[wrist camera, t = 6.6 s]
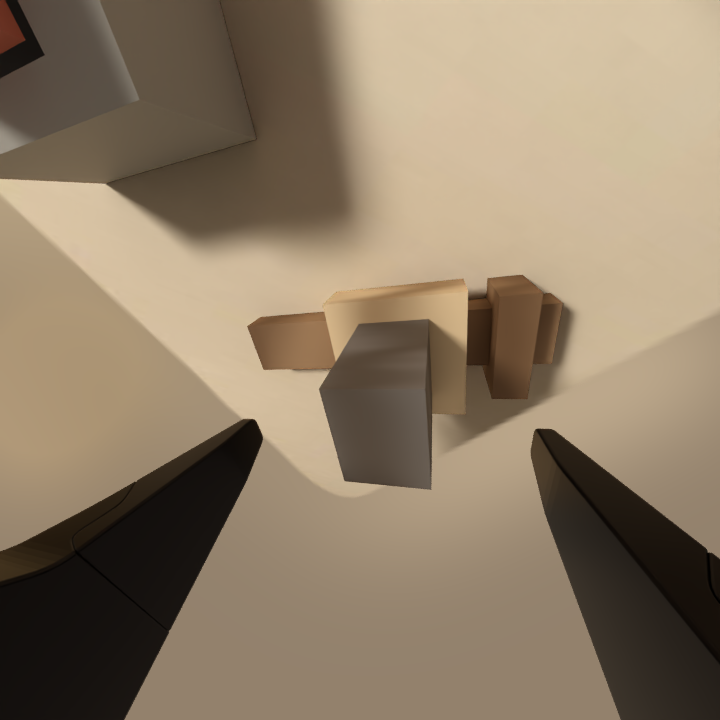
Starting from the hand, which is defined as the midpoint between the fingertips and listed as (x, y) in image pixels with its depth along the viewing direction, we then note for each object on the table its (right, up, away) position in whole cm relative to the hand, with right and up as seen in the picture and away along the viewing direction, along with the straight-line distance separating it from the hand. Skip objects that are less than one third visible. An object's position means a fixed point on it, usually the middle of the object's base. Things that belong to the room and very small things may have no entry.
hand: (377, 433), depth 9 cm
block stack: (+2, +3, +5) cm, 7 cm away
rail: (+1, +4, +7) cm, 8 cm away
